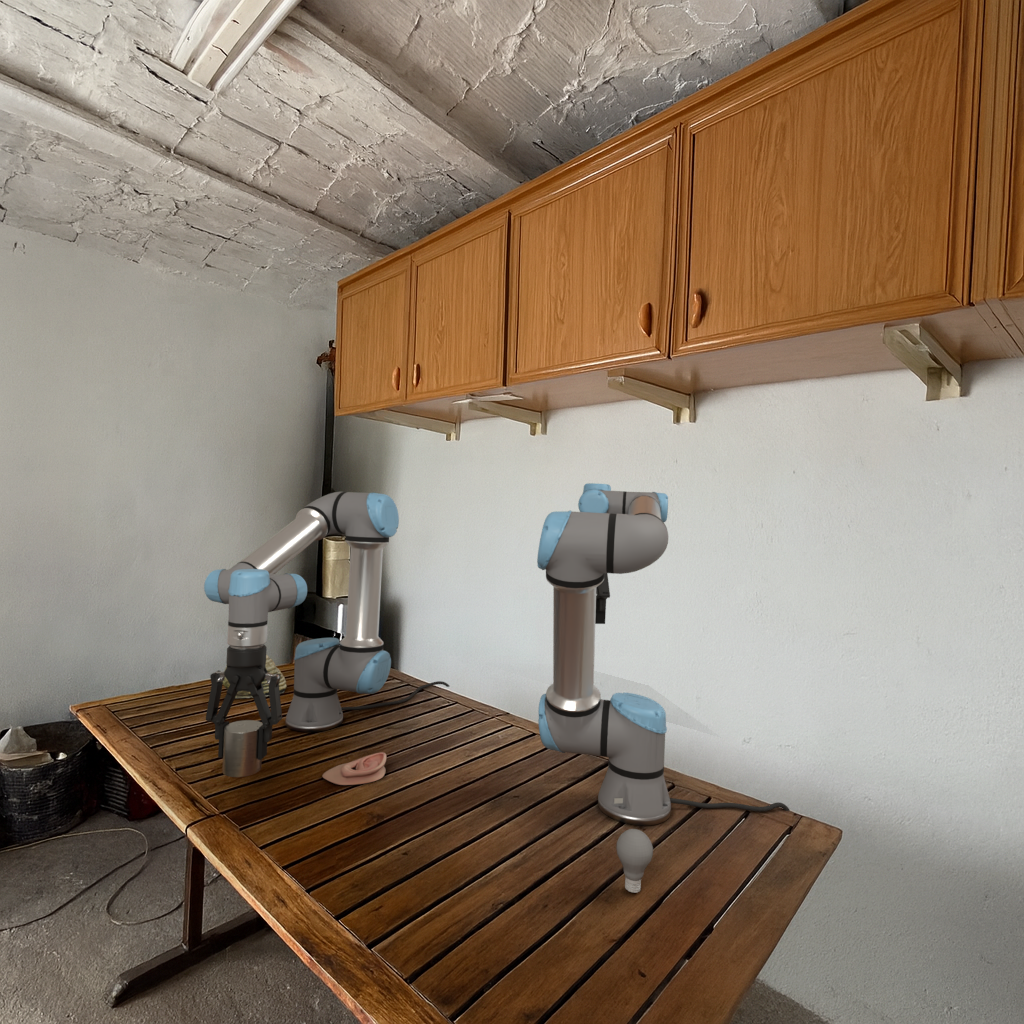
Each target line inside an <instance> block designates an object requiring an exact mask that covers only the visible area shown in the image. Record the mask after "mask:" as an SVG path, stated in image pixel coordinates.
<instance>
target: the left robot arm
mask: <svg viewBox="0 0 1024 1024" xmlns="http://www.w3.org/2000/svg"><path fill="white" fill-rule="evenodd" d="M399 523H400V517H399V510H398V508H397V504H396V503H395V501H394V499H393V498H392V497H391V496H390V495H388V494H386V493H380V492H379V493H377V492H358V491H357V492H355V491H353V492H352V491H334V492H330V493H328V494H325V495H323V496H321V497H318V498H317V499H314V500H313V501H311V502H309V503H308V504H307V505H305V506H303V507H302V508H301V509H300V510H299V511H297V513H296V515H295V518H294V519H293V520H292V521H291V522H289V523H288V524H287V525H285V526H284V527H282V528H281V529H280V530H278V531H277V532H276V533H275V534H274V535H272V536H270V537H269V538H268V539H267V540H266V541H264V542H263V543H262V544H260V545H259V546H258V547H257V548H255V549H254V550H253V551H251V552H250V553H249V554H248V555H246V556H245V557H244V558H242V559H240V560H239V562H237V563H236V564H235V565H233V566H232V567H230V568H229V569H226V568H222V569H221V568H220V569H214V570H212V571H210V573H208V575H207V576H206V578H205V580H204V585H203V591H204V593H205V596H206V597H207V599H208V600H209V601H211V602H213V603H214V602H215V603H219V604H223V605H228V621H227V638H226V639H227V641H226V643H227V645H228V647H227V648H226V665H227V666H225V668H226V670H225V669H224V670H216V671H214V672H212V673H210V675H209V677H210V683H211V688H210V692H209V698H208V703H207V708H206V714H205V721H206V722H212V723H213V724H214V739H215V740H216V741H218V751H217V752H218V753H217V758H220V759H223V743H224V727H225V726H226V725H228V724H230V721H229V720H227V719H228V718H227V717H228V715H229V712H230V710H231V707H232V706H233V704H234V701H235V699H236V698H235V697H236V694H237V692H238V691H246V692H250V693H251V696H252V698H253V701H254V704H255V707H256V709H257V713H258V715H259V718H260V720H261V721H260V722H261V723H262V724H263V725H262V726H261V727H259V743H258V760H262V761H263V759H264V758H265V757H266V756H267V755H268V743H269V742H270V741H271V740H272V738H273V726H275V725H278V724H279V723H280V722H281V721H282V720H283V713H282V712H283V711H282V701H281V693H280V691H279V682H280V678H281V675H280V674H279V673H277V674H271V673H268V672H267V669H266V654H267V649H268V648H267V647H268V646H267V645H266V643H267V642H268V621H269V620H268V618H269V613H272V612H276V611H282V610H287V609H288V610H289V609H291V608H294V607H296V606H297V607H298V606H300V605H301V604H302V603H303V602H304V601H305V600H306V598H307V595H308V585H307V582H306V580H305V579H304V577H302V576H301V575H300V574H297V573H284V574H277V573H278V572H280V570H281V569H283V568H285V566H286V565H288V564H289V563H290V562H291V561H292V560H293V559H295V558H296V557H297V556H298V555H299V554H300V553H302V552H304V550H306V549H307V548H308V547H309V546H310V545H312V543H314V542H316V541H321V540H323V539H324V538H325V537H327V536H329V535H335V534H342V535H345V544H347V545H348V546H349V547H350V555H349V573H348V590H347V608H346V624H345V625H346V627H345V636H344V637H343V638H342V639H341V640H340V639H339V638H337V637H321V638H313V639H307V640H304V641H302V642H299V643H298V644H297V645H296V647H295V652H294V653H295V654H294V658H293V660H294V672H293V673H294V674H293V695H292V696H293V697H292V699H291V702H290V704H289V708H288V709H287V713H286V715H285V726H286V728H287V729H289V730H291V731H294V732H295V731H296V732H301V733H316V732H325V731H329V730H332V729H335V728H337V727H339V726H340V725H342V723H343V722H344V714H343V711H360V710H368V709H373V708H374V709H375V708H380V707H385V706H392V705H398V704H404V703H405V702H408V701H410V700H411V699H412V698H413V697H414V696H416V695H417V694H418V692H419V691H421V690H423V689H427V688H429V687H432V686H436V685H443V686H445V687H446V688H449V687H451V686H450V685H449V684H448V683H447V682H445V681H442V680H440V681H433V682H429V683H426V684H423V685H420V686H419V687H417V688H416V689H415V690H414V691H413V692H412V693H411V694H410V695H409V696H407V697H405V698H402V699H398V700H393V701H386V702H380V703H374V704H369V705H360V706H341V702H340V699H339V695H338V691H345V692H351V693H357V694H359V695H362V694H366V695H373V694H376V693H378V692H379V691H380V690H381V689H382V688H383V687H384V685H385V684H386V682H387V680H388V678H389V676H390V672H391V667H392V658H391V654H390V652H388V651H387V650H384V641H383V640H382V639H381V637H379V631H380V611H381V591H382V575H383V558H384V557H383V555H384V548H386V546H388V545H389V544H390V538H392V537H394V536H395V535H396V533H397V532H398V528H399ZM225 677H226V679H227V680H228V682H229V683H230V686H229V688H228V690H227V689H226V692H225V693H226V694H225V696H224V698H223V701H222V704H221V705H220V701H221V694H222V690H223V686H224V685H223V681H224V679H225ZM264 679H266V680H267V684H268V685H269V696H268V697H269V702H268V701H267V697H266V696H265V695H264V688H263V686H262V682H263V680H264ZM268 703H269V704H268ZM219 706H220V707H219ZM226 720H227V721H226Z"/></svg>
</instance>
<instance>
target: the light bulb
mask: <svg viewBox="0 0 1024 1024" xmlns="http://www.w3.org/2000/svg"><path fill="white" fill-rule="evenodd" d="M615 849H616V854H617V857H618V859H619V861H620V863H621V865H622V867H623V873H624V874H623V875H624V876H625V878H624V888H625V890H627V891H628V892H630V893H634V894H635V893H639V892H640V891H641V889H642V887H641V886H642V879H643V877H644V875H645V871H646V868H647V867H648V866H649V864H650V863H651V861H652V859H653V855H654V847H653V843H652V841H651V838H649V836H648V835H647V834H646V833H645V832H643V831H642V830H641V829H636V828H629V829H627V830H625V831H623V832H622V833H621V834H620V835H619V837H618V839H617V841H616V847H615Z"/></svg>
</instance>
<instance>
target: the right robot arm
mask: <svg viewBox="0 0 1024 1024" xmlns="http://www.w3.org/2000/svg"><path fill="white" fill-rule="evenodd" d="M582 490H583V491H582V494H581V495H580V496H579V499H578V504H577V507H578V509H579V511H573V510H568V511H567V510H566V511H564V510H561V511H551V512H550V513H548V514H547V515H546V517H545V519H544V522H543V525H542V529H541V533H540V538H539V544H538V550H537V558H536V559H537V561H536V563H537V565H536V566H537V568H538V569H540V570H542V571H545V579H546V581H547V582H548V584H550V585H551V586H552V587H553V590H552V591H553V597H552V598H553V599H552V600H553V602H552V605H553V606H552V608H553V611H552V612H553V613H552V616H553V624H552V625H553V629H552V630H553V631H552V632H553V633H552V634H553V637H552V638H553V640H552V641H553V644H552V645H553V647H552V648H553V649H552V650H553V651H552V652H553V653H552V663H553V665H552V666H553V667H552V673H553V674H552V683H551V684H550V685H549V686H548V687H547V689H546V692H545V693H543V694H542V695H541V696H540V699H539V703H538V710H537V711H538V720H537V721H538V723H537V724H538V732H539V737H540V741H541V743H542V745H543V747H545V748H546V749H547V750H551V751H556V752H560V753H563V754H565V753H571V754H578V755H586V756H587V755H588V756H596V757H602V758H608V764H607V765H608V766H607V769H606V773H605V775H604V778H603V781H602V783H601V786H600V788H599V791H598V795H597V796H598V797H597V806H598V808H599V810H600V812H602V813H603V814H604V815H606V816H608V817H609V818H611V819H613V820H615V821H618V822H620V823H624V824H628V825H634V826H654V825H659V824H662V823H664V822H666V821H667V820H668V819H669V818H670V817H671V814H672V804H677V805H683V806H690V807H696V808H701V809H725V808H727V809H729V808H730V809H739V810H745V811H751V812H757V813H758V812H760V813H761V812H762V813H766V812H769V811H772V810H775V809H777V808H780V809H783V810H784V811H786V812H790V811H791V810H790V808H789V807H788V806H787V805H786V804H785V803H783V802H774V803H771V804H768V805H765V806H754V805H748V804H743V803H738V802H737V803H736V802H716V803H715V802H714V803H713V802H712V803H711V802H710V803H709V802H708V803H707V802H698V801H693V800H688V799H680V798H674V797H670V794H669V790H668V787H667V783H666V780H665V748H666V733H667V731H668V727H667V714H666V711H665V708H664V707H663V705H661V704H660V703H659V702H657V701H656V700H654V699H652V698H649V697H647V696H644V695H642V694H641V695H640V694H637V693H632V692H615V693H613V694H612V695H611V697H610V699H601V698H602V695H601V692H600V690H599V688H598V687H597V686H596V685H595V655H596V654H595V653H596V650H595V649H596V625H606V615H607V614H606V613H607V599H610V597H611V592H610V591H611V590H610V584H609V576H608V574H611V575H612V574H613V575H614V574H617V575H622V574H630V573H635V572H637V571H641V570H643V569H645V568H647V567H649V566H651V565H653V564H654V563H655V562H657V561H658V560H659V559H660V558H662V556H663V555H664V553H665V552H666V550H667V547H668V544H669V531H668V527H667V526H666V524H665V523H666V522H667V520H668V515H669V514H668V513H669V512H668V511H669V496H668V494H666V493H665V492H657V491H651V492H650V491H623V490H612V487H611V485H610V484H609V483H608V484H607V483H595V482H594V483H593V482H592V483H591V482H590V483H589V482H588V483H585V484H584V485H583V489H582ZM769 805H770V806H769Z"/></svg>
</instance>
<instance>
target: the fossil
mask: <svg viewBox="0 0 1024 1024" xmlns="http://www.w3.org/2000/svg"><path fill="white" fill-rule="evenodd" d="M226 667H227V664H226V666H225V668H224V671H225V670H226ZM266 669H267V672H268V673H271V674H277V673H279V674H280V675H281V678H280V682H279V691H280V694H284V693H285V691H286V689H287V687H288V686H287V680H286V678H285V676H284V674H283V673H282V672H281V669H279V668H278V667H277V665H276V663H275V662H274V660H273V659H272V658H271V657H270V656H269V655H268V654H267V653H266ZM222 686H223V687H224V688H225V690H226V691H227V690H228V688H229V686H230V683H229V682H228V680H227V679H226V677H225V679H224V681H223V685H222ZM262 686H263V688H264V695H265V697H269V685H268V684H267V680H266V679H264V680H263V682H262ZM250 698H253V697H252V696H251V693H250V692H246V691H238V692H237V694H236V697H235V699H250Z"/></svg>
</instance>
